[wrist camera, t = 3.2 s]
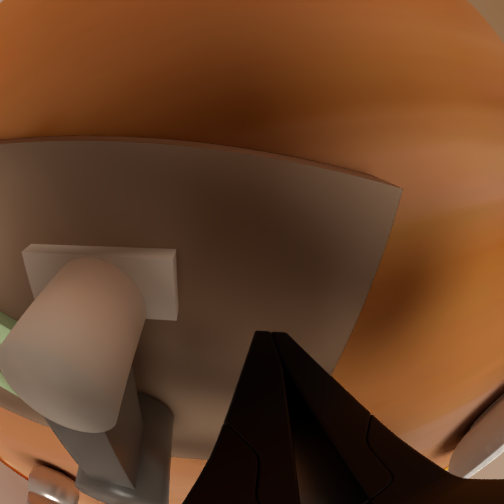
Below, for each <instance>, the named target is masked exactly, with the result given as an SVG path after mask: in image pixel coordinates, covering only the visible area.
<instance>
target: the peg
mask: <svg viewBox="0 0 504 504" xmlns="http://www.w3.org/2000/svg"><path fill="white" fill-rule="evenodd" d="M145 318H146V307H145V303H144V299H143V297H142V294H141V292H140V290H139V289H138V287H137V286H136V284H135V283H134V282H133V280H132V279H131V278H130V277H129V276H128V275H127V274H126V273H125V272H123V271H122V270H121V269H119V268H118V267H116V266H115V265H113V264H111V263H109V262H107V261H104V260H101V259H98V258H92V257H82V258H77V259H74V260H72V261H70V262H68V263H67V264H66V265H65V266H63V267H62V269H61V270H60V271H59V272H58V273H57V274H56V275H55V276H54V278H53V279H52V280H51V281H50V282H49V283H48V284H47V286H46V287H45V288H44V289H43V290H42V292H41V293H40V294H39V295H38V296H37V298H36V299H35V300H34V301H33V303H32V304H31V305H30V306H29V308H28V309H27V310H26V311H25V313H24V314H23V315H22V316H21V318H20V319H19V320H18V322H17V323H16V324H15V326H14V327H13V328H12V330H11V331H10V333H9V334H8V335H7V337H6V338H5V340H4V341H3V342H2V344H1V345H0V370H1V372H2V375H3V376H4V378H5V380H6V381H7V383H8V384H9V386H10V387H11V388H12V389H13V391H14V392H15V393H16V394H17V395H18V396H19V397H20V398H21V399H22V400H23V401H24V402H25V403H26V404H28V405H29V406H30V407H31V408H32V409H34V410H35V411H37V412H38V413H39V414H41V415H43V416H44V418H45V420H46V421H47V423H48V424H49V426H50V427H51V429H52V430H53V432H54V433H55V435H56V436H57V437H58V439H59V440H60V442H61V443H62V444H63V446H64V447H65V448H66V450H67V451H68V452H69V454H70V455H71V456H72V458H73V459H74V460H75V461H76V463H77V464H78V465H79V468H78V472H77V477H76V481H75V486H76V488H77V489H79V490H80V491H81V492H83V493H84V494H86V495H88V496H90V497H92V498H94V499H97V500H99V501H101V502H104V503H107V504H169V481H170V464H171V449H172V437H173V425H174V417H173V415H172V413H171V411H170V410H169V409H168V408H167V407H166V406H164V405H163V404H162V403H160V402H159V401H157V400H155V399H153V398H151V397H149V396H146V395H143V394H140V393H137V390H136V385H135V379H134V373H133V366H132V362H133V358H134V355H135V352H136V348H137V345H138V342H139V338H140V335H141V332H142V329H143V326H144V322H145Z"/></svg>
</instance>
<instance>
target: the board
mask: <svg viewBox="0 0 504 504" xmlns="http://www.w3.org/2000/svg"><path fill="white" fill-rule="evenodd" d="M402 190H403V189H402V188H400V187H397V186H395V185H393V184H391V183H389V182H386V181H384V180H382V179H379V178H377V177H375V176H372V175H368V174H365V173H361V172H357V171H353V170H349V169H345V168H341V167H337V166H333V165H328V164H324V163H320V162H315V161H310V160H306V159H301V158H296V157H291V156H286V155H280V154H275V153H269V152H264V151H258V150H251V149H245V148H238V147H232V146H224V145H217V144H209V143H200V142H191V141H181V140H170V139H157V138H142V137H121V136H50V137H31V138H17V139H6V140H0V345H1V344H2V342H3V341H4V340H5V338H6V337H7V335H8V334H9V333H10V331H11V330H12V328H13V327H14V326H15V324H16V323H17V322H18V320H19V319H20V318H21V316H22V315H23V314H24V313H25V311H26V310H27V309H28V308H29V306H30V305H31V304H32V303H33V301H34V300H35V299H36V298H37V296H38V295H39V294H40V293H41V292H42V290H43V289H44V288H45V287H46V286H47V284H48V283H49V282H50V281H51V280H52V279H53V278H54V276H55V275H56V274H57V273H58V272H59V271H60V270H61V269H62V267H63V266H65V265H66V264H67V263H68V262H70V261H72V260H74V259H77V258H82V257H92V258H98V259H101V260H104V261H107V262H109V263H111V264H113V265H115V266H116V267H118V268H119V269H121V270H122V271H123V272H125V273H126V274H127V275H128V276H129V277H130V278H131V279H132V280H133V282H134V283H135V284H136V286H137V287H138V289H139V290H140V292H141V294H142V297H143V299H144V303H145V307H146V318H145V322H144V326H143V329H142V332H141V335H140V338H139V342H138V345H137V348H136V352H135V355H134V358H133V362H132V366H133V373H134V379H135V385H136V390H137V393H140V394H143V395H146V396H149V397H151V398H153V399H155V400H157V401H159V402H160V403H162V404H163V405H164V406H166V407H167V408H168V409H169V410H170V411H171V413H172V415H173V417H174V425H173V437H172V449H171V457H180V458H190V459H203V460H208V459H209V457H210V455H211V453H212V450H213V448H214V446H215V443H216V441H217V439H218V436H219V433H220V430H221V428H222V425H223V423H224V420H225V417H226V414H227V411H228V408H229V406H230V403H231V400H232V397H233V394H234V391H235V388H236V385H237V383H238V380H239V377H240V374H241V371H242V368H243V365H244V362H245V359H246V356H247V353H248V350H249V347H250V344H251V341H252V338H253V335H254V332H255V331H256V330H260V331H269V332H273V331H277V332H286V333H288V334H289V335H290V336H291V337H292V338H293V339H294V340H295V341H296V342H297V343H298V344H299V345H300V346H301V347H302V348H303V349H304V350H305V351H306V352H307V353H308V354H309V355H310V356H311V357H312V358H313V359H314V360H315V361H316V362H317V363H318V364H319V365H320V366H321V367H322V368H323V369H324V370H325V371H326V372H327V373H329V374H330V375H331V374H332V372H333V370H334V368H335V366H336V364H337V362H338V360H339V358H340V356H341V354H342V352H343V350H344V348H345V345H346V343H347V341H348V339H349V337H350V335H351V332H352V330H353V328H354V326H355V323H356V321H357V319H358V317H359V314H360V312H361V310H362V307H363V305H364V302H365V300H366V297H367V295H368V292H369V290H370V287H371V285H372V282H373V280H374V277H375V274H376V272H377V269H378V266H379V263H380V261H381V258H382V255H383V252H384V249H385V246H386V243H387V240H388V237H389V234H390V231H391V228H392V225H393V222H394V218H395V215H396V212H397V208H398V205H399V201H400V198H401V194H402ZM0 407H2V408H4V409H6V410H8V411H11V412H13V413H15V414H17V415H19V416H22V417H24V418H26V419H29V420H31V421H34V422H36V423H39V424H41V425H44V426H47V427H49V428H51V427H50V426H49V424H48V423H47V421H46V420H45V418H44V416H43V415H41V414H39V413H38V412H37V411H35V410H34V409H32V408H31V407H30V406H29V405H28V404H26V403H25V402H24V401H23V400H22V399H21V398H20V397H19V396H18V395H17V394H16V393H15V392H14V391H13V389H12V388H11V387H10V386H9V384H8V383H7V381H6V380H5V378H4V376H3V375H2V372H1V370H0Z"/></svg>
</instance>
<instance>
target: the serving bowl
mask: <svg viewBox="0 0 504 504" xmlns="http://www.w3.org/2000/svg"><path fill="white" fill-rule="evenodd" d="M503 452H504V394H503V395H501V396H500V397H499V398H498V399H497V400H496V401H495V402H494V403H493V404H491V405H490V406H489V407H488V408H487V409H486V410H485V411H484V412H483V413H482V414H481V415H480V417H479V418H478V419H477V420H476V421H475V422H474V423H473V425H472V426H471V428H470V430H469V431H468V432H467V433H466V434H465V436H464V437H463V438H462V439H461V441H460V442H459V443H458V445H457V446H456V448H455V450H454V452H453V454H452V456H451V459H450V462H449V470H448V471H449V473H451V474H453V475H455V476H458V477H462V478H467V479H468V478H469V477H471V476H473V475H474V474H475V473H477V472H478V471H480V470H481V469H482V468H484V467H485V466H486V465H488V464H489V463H490V462H492V461H493V460H494V459H496V458H497V457H498V456H499V455H500V454H501V453H503Z"/></svg>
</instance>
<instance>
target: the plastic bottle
mask: <svg viewBox="0 0 504 504" xmlns="http://www.w3.org/2000/svg"><path fill="white" fill-rule="evenodd" d="M28 490H29V492H28V497H27V504H78V501H79V489H77V488H76V486H75V481H74V480H72V479H71V478H69V477H68V476H66V475H64V474H63V473H61V472H60V471H58V470H55V469H52V468H49V467H46V466H43V465H37V466H35V467H33V469H32V471H31V473H30V474H29V480H28Z"/></svg>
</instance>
